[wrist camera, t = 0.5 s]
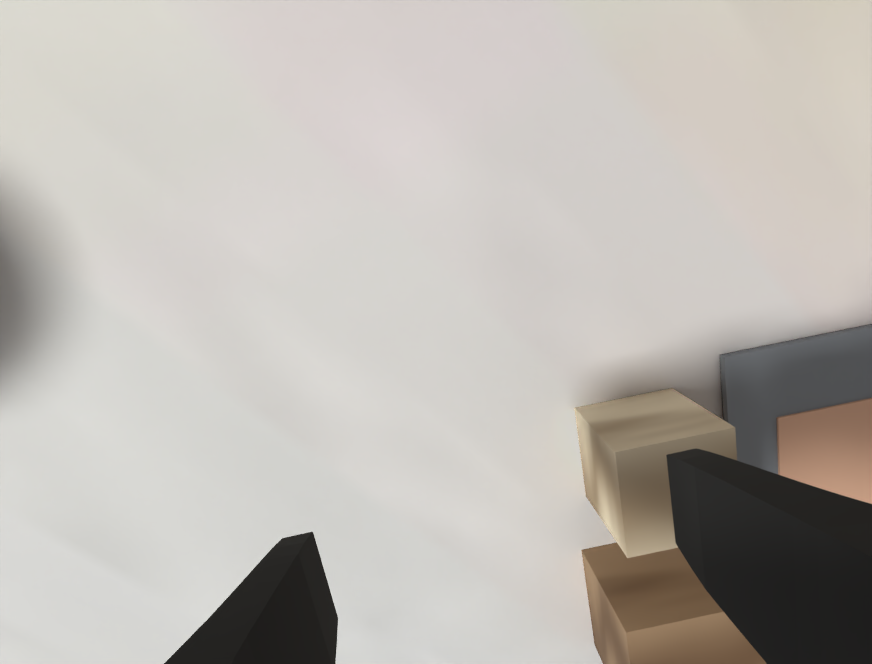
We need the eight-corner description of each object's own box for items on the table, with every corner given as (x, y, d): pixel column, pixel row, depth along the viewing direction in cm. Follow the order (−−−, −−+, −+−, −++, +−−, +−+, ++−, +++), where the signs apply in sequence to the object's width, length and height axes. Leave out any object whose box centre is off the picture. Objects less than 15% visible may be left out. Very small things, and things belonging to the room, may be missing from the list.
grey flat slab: (947, 561, 23) (957, 567, 22) (734, 606, 23) (740, 613, 22) (962, 305, 20) (973, 307, 20) (719, 355, 20) (726, 357, 19)
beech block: (678, 476, 21) (741, 534, 17) (585, 495, 21) (627, 558, 17) (670, 387, 20) (735, 427, 16) (573, 407, 20) (615, 452, 16)
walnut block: (701, 620, 23) (772, 715, 18) (594, 643, 23) (640, 744, 18) (693, 524, 22) (767, 602, 17) (580, 548, 22) (626, 632, 17)
